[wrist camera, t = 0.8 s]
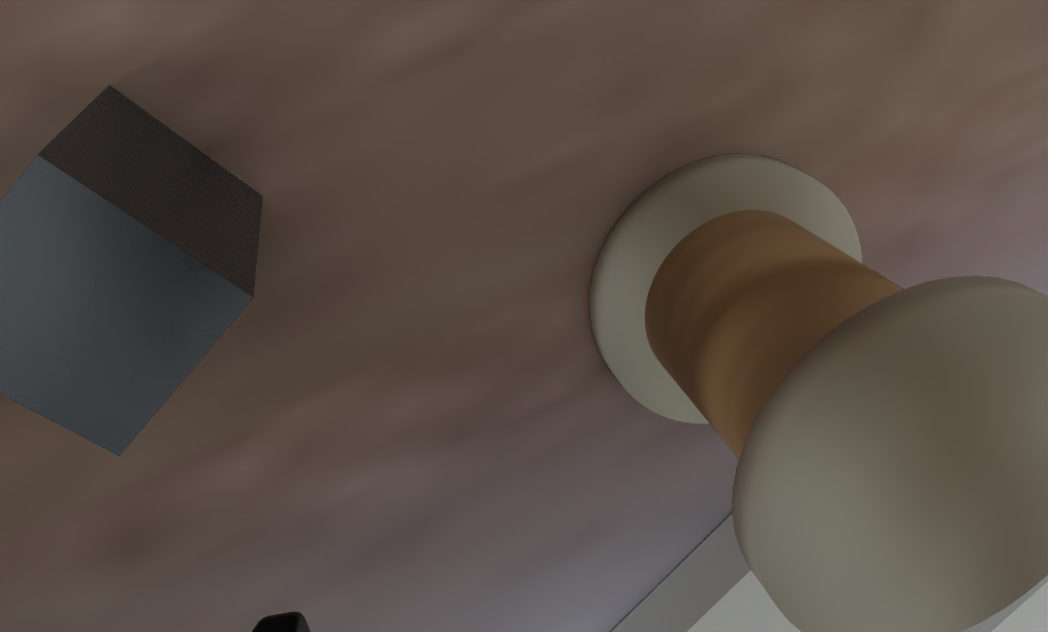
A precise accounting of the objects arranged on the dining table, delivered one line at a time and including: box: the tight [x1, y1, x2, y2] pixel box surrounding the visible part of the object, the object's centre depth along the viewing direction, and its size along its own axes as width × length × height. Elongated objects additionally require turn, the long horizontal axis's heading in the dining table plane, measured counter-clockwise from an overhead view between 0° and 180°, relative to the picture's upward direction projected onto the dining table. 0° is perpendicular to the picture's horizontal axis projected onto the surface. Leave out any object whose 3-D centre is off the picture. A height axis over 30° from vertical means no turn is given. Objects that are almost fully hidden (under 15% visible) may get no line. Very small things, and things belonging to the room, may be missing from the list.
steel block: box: [0, 85, 263, 456], centre depth 16 cm, size 4×4×6 cm
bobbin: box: [589, 154, 1048, 632], centre depth 18 cm, size 7×7×9 cm
